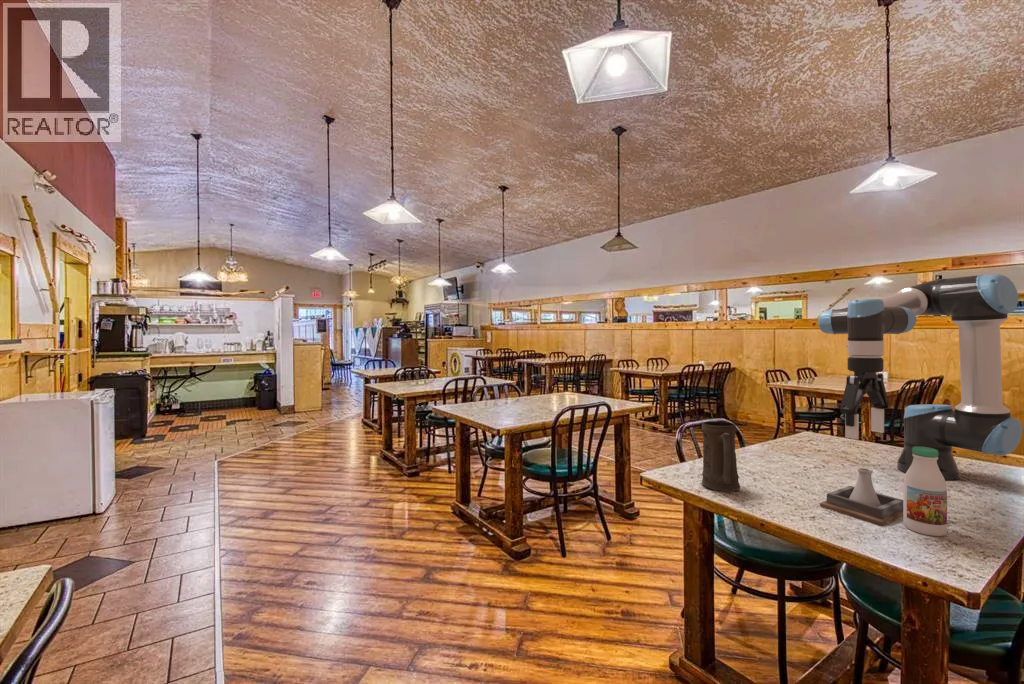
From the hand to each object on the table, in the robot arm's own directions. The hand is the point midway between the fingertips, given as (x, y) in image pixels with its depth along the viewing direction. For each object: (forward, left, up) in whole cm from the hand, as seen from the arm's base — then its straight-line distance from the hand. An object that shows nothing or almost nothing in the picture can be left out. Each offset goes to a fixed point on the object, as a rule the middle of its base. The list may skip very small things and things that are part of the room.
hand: (865, 435), depth 117 cm
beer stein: (+19, -29, -21) cm, 40 cm away
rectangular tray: (0, 0, -20) cm, 20 cm away
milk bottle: (+1, +13, -21) cm, 24 cm away
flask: (0, 0, -20) cm, 20 cm away
